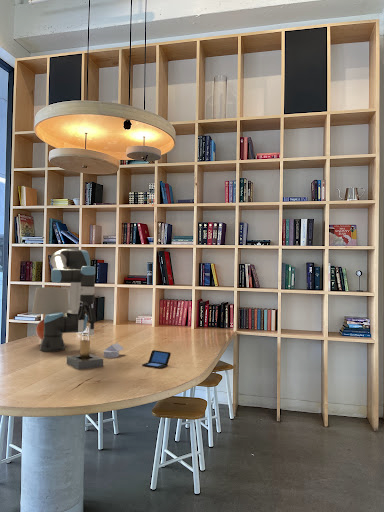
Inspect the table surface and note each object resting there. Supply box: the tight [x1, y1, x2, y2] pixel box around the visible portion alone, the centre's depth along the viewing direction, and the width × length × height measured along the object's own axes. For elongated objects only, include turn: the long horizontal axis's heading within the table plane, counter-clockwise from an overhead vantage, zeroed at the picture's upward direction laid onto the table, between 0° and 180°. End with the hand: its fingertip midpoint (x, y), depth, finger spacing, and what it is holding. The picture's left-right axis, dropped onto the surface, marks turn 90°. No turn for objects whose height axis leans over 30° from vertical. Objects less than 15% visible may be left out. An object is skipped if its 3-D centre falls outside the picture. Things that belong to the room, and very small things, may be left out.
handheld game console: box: [141, 349, 172, 370], centre depth 229 cm, size 12×11×7 cm
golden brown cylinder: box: [79, 339, 91, 360], centre depth 226 cm, size 5×5×12 cm
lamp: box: [31, 286, 70, 344], centre depth 289 cm, size 25×25×39 cm
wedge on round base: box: [103, 342, 125, 359], centre depth 254 cm, size 9×7×13 cm
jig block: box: [66, 353, 104, 370], centre depth 226 cm, size 16×14×4 cm
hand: (85, 333), depth 227 cm, fingers open, 13 cm apart
